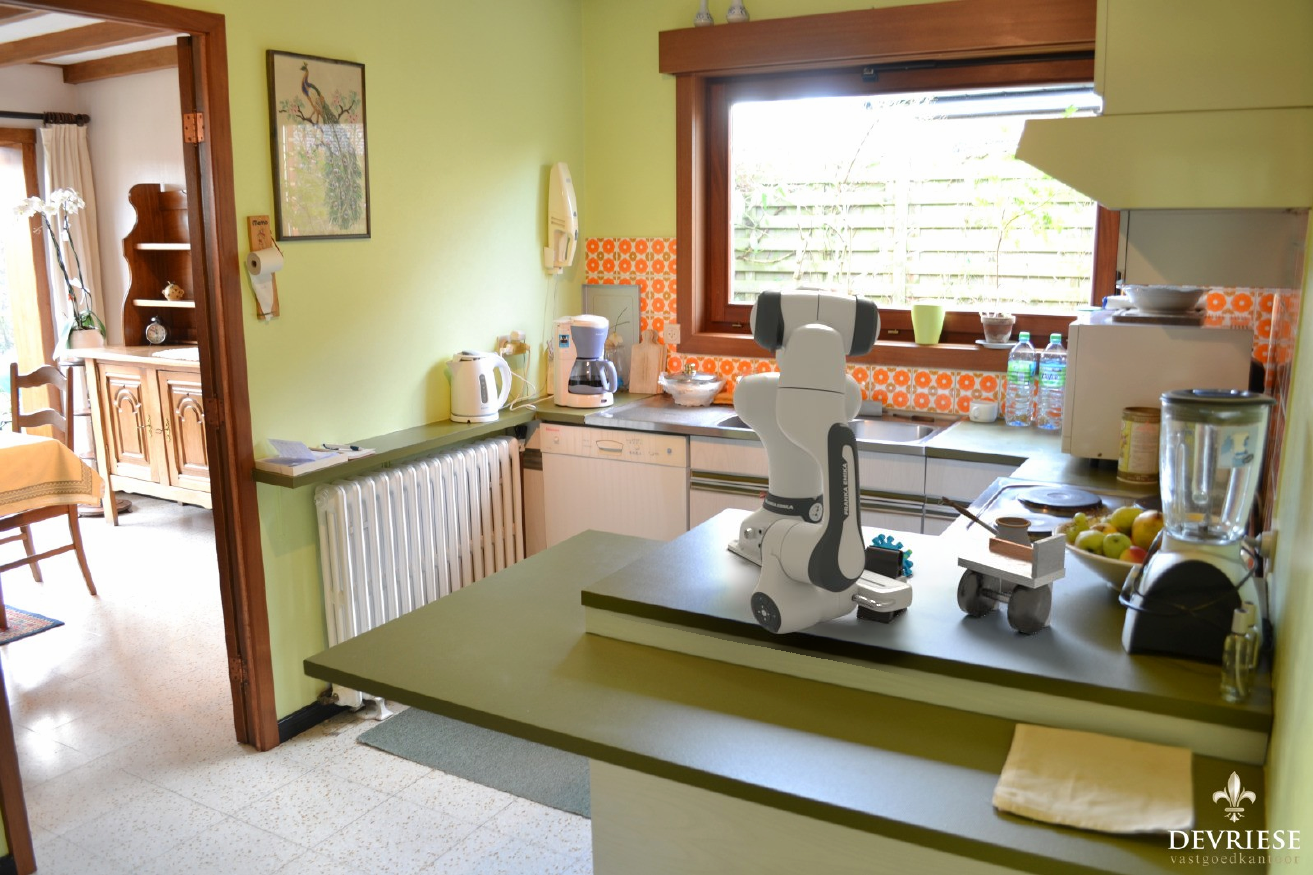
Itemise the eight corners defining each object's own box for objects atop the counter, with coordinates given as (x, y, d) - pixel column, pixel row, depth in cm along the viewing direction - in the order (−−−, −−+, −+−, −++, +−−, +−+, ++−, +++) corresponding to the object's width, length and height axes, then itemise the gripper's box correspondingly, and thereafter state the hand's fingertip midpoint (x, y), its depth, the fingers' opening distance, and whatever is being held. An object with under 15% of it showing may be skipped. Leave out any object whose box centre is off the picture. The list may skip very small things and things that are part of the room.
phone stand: (888, 624, 176) (891, 558, 173) (856, 617, 179) (858, 552, 177) (907, 608, 183) (910, 544, 181) (875, 602, 186) (878, 539, 184)
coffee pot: (1052, 586, 194) (1057, 510, 191) (1023, 601, 186) (1028, 522, 183) (951, 561, 209) (955, 490, 206) (921, 574, 201) (924, 501, 198)
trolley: (949, 616, 179) (954, 525, 176) (985, 602, 185) (990, 514, 182) (1025, 642, 167) (1031, 545, 164) (1061, 627, 174) (1068, 533, 170)
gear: (890, 577, 194) (866, 533, 199) (870, 592, 198) (848, 548, 203) (927, 573, 201) (903, 530, 206) (907, 588, 205) (885, 546, 210)
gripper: (880, 590, 163) (935, 572, 171) (790, 558, 179) (844, 543, 187) (879, 627, 164) (933, 607, 173) (790, 592, 180) (843, 576, 189)
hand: (886, 574), depth 180 cm, fingers closed on phone stand, 6 cm apart
